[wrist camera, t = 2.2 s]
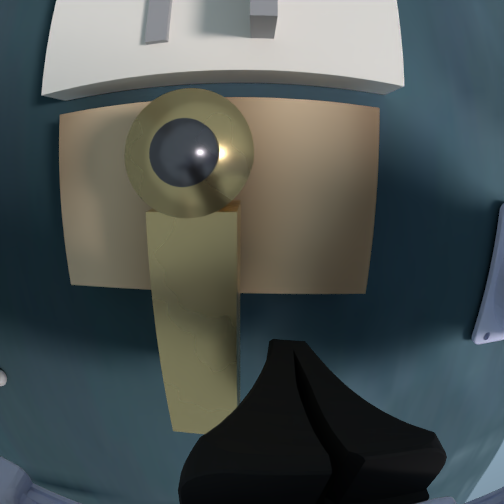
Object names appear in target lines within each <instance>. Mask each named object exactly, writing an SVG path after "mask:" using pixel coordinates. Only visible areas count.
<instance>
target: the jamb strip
mask: <svg viewBox="0 0 504 504" xmlns="http://www.w3.org/2000/svg"><path fill="white" fill-rule="evenodd" d="M224 98H226V99H228V100H229V101H230V102H231V103H233V104H234V105H235V106H236V107H237V108H238V109H239V111H240V112H241V113H242V115H243V116H244V118H245V119H246V121H247V123H248V125H249V127H250V130H251V133H252V138H253V143H254V162H253V167H252V169H251V172H250V175H249V178H248V180H247V181H246V183H245V185H244V187H243V188H242V190H241V191H240V193H239V194H238V195H237V196H236V197H235V198H234V199H233V200H241V258H240V293H265V294H365V293H366V287H367V280H368V272H369V265H370V257H371V249H372V240H373V230H374V220H375V208H376V195H377V180H378V160H379V108H376V107H369V106H362V105H354V104H346V103H337V102H327V101H316V100H302V99H285V98H257V97H224ZM151 102H152V101H150V102H140V103H131V104H122V105H115V106H108V107H101V108H95V109H88V110H83V111H77V112H72V113H66V114H61V115H60V124H59V173H60V194H61V209H62V220H63V230H64V239H65V248H66V255H67V262H68V269H69V275H70V281H71V285H83V286H97V287H112V288H129V289H147V290H151V281H150V270H149V258H148V244H147V228H146V212H147V211H149V210H150V209H152V207H150V206H149V205H148V204H146V203H145V202H144V201H143V200H142V199H141V198H140V197H139V195H138V194H137V193H136V191H135V190H134V188H133V187H132V185H131V182H130V180H129V178H128V175H127V171H126V166H125V156H124V155H125V145H126V139H127V136H128V133H129V130H130V128H131V126H132V124H133V122H134V121H135V119H136V117H137V116H138V115H139V113H140V112H141V111H142V110H143V109H144V108H145V107H146V106H147V105H148V104H149V103H151Z"/></svg>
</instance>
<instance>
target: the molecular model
mask: <svg viewBox="0 0 504 504" xmlns="http://www.w3.org/2000/svg"><path fill="white" fill-rule="evenodd" d="M6 381H7V376H6V374H5V373H4V372H3V371H2V370H0V386H3V385H5V384H6Z"/></svg>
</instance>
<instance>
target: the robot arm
mask: <svg viewBox="0 0 504 504" xmlns="http://www.w3.org/2000/svg"><path fill="white" fill-rule="evenodd" d="M499 340H504V203H503V204H502V206H501V207H500V211H499V218H498V226H497V232H496V239H495V245H494V250H493V255H492V261H491V265H490V270H489V275H488V279H487V283H486V288H485V292H484V296H483V299H482V303H481V307H480V310H479V314H478V317H477V321H476V324H475V327H474V330H473V334H472V341H473V342H474V343H475V344H483V343H488V342H494V341H499ZM446 458H447V456H446V453H445V451H444V449H443V447H442V445H441V443H440V441H439V439H438V438H437V436H436V434H435V433H434V432H432V431H428V430H425V429H422V428H419V427H416V426H414V425H411V424H408V423H406V422H404V421H401V420H399V419H397V418H395V417H393V416H391V415H389V414H387V413H385V412H383V411H382V410H380V409H378V408H376V407H375V406H373V405H371V404H370V403H368V402H367V401H365V400H364V399H363V398H361V397H360V396H359V395H357V394H356V393H355V392H353V391H352V390H351V389H350V388H348V387H347V386H346V385H345V384H344V383H343V382H342V381H341V380H340V379H338V378H337V377H336V376H335V375H334V374H333V373H332V372H331V371H330V370H329V368H328V367H327V366H326V365H325V364H324V363H323V362H322V361H321V360H320V358H319V357H318V356H317V355H316V354H315V353H314V351H313V350H312V349H311V348H310V347H309V345H308V344H307V343H306V342H305V341H291V340H278V339H272V340H271V341H269V347H268V354H267V360H266V362H265V365H264V367H263V370H262V372H261V373H260V375H259V377H258V379H257V381H256V382H255V384H254V386H253V387H252V389H251V390H250V392H249V393H248V394H247V396H246V397H245V398H244V399H243V401H242V402H241V403H240V404H239V405H238V406H237V408H236V409H235V410H234V411H233V412H232V413H231V414H230V415H228V416H227V417H226V418H225V419H224V420H223V421H222V422H221V423H220V424H218V425H217V426H216V427H214V428H213V429H211V430H210V431H209V432H207V433H206V434H204V435H203V436H201V437H200V438H199V440H198V441H197V443H196V444H195V446H194V447H193V449H192V451H191V452H190V454H189V456H188V458H187V460H186V462H185V464H184V466H183V469H182V472H181V476H180V482H179V488H178V494H179V501H180V504H457V503H456V501H455V500H454V499H453V498H452V497H441V498H435V499H431V500H428V499H429V494H428V492H427V489H426V488H427V487H428V486H429V485H430V484H431V482H432V481H433V480H434V479H435V477H436V476H437V475H438V474H439V472H440V471H441V469H442V468H443V466H444V464H445V462H446ZM0 504H81V503H79V502H76V501H73V500H71V499H68V498H66V497H63V496H61V495H58V494H56V493H54V492H51V491H49V490H47V489H45V488H42V487H40V486H38V485H36V484H34V483H32V481H31V479H30V477H29V476H28V474H27V473H26V472H25V471H24V470H23V469H22V468H21V467H19V466H18V465H16V464H14V463H12V462H11V461H9V460H7V459H5V458H3V457H1V456H0ZM464 504H504V487H502V488H500V489H498V490H496V491H494V492H491V493H489V494H487V495H485V496H482V497H479V498H477V499H475V500H472V501H470V502H467V503H464Z"/></svg>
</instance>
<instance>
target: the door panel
mask: <svg viewBox="0 0 504 504" xmlns="http://www.w3.org/2000/svg"><path fill="white" fill-rule="evenodd" d="M204 83H275V84H295V85H309V86H320V87H330V88H339V89H348V90H355V91H363V92H369V93H376V94H382V95H386V94H388V93H390V92H392V91H395V90H397V89H399V88H402V87H404V69H403V54H402V42H401V32H400V23H399V14H398V7H397V0H56V4H55V9H54V13H53V18H52V23H51V28H50V33H49V39H48V45H47V51H46V58H45V65H44V74H43V83H42V94H41V95H42V96H46V97H51V98H56V99H60V100H64V101H67V100H72V99H77V98H82V97H87V96H93V95H99V94H105V93H111V92H118V91H125V90H132V89H141V88H150V87H160V86H171V85H185V84H204Z"/></svg>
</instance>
